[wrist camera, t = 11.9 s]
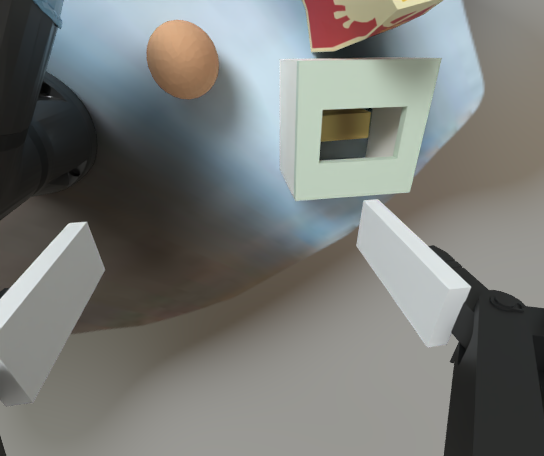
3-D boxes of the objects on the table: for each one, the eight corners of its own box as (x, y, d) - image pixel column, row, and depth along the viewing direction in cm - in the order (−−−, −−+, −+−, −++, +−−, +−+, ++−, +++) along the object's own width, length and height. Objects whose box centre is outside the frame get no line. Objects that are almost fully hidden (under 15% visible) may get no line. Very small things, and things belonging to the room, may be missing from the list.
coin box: (279, 169, 44) (295, 200, 34) (279, 59, 36) (299, 61, 27) (370, 163, 45) (409, 192, 36) (387, 57, 38) (441, 58, 29)
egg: (158, 93, 36) (142, 103, 29) (150, 20, 33) (130, 10, 26) (219, 96, 38) (219, 106, 30) (218, 26, 34) (217, 19, 27)
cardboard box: (308, 130, 41) (320, 141, 36) (309, 107, 40) (321, 115, 35) (350, 127, 42) (368, 137, 37) (352, 104, 40) (371, 112, 35)
